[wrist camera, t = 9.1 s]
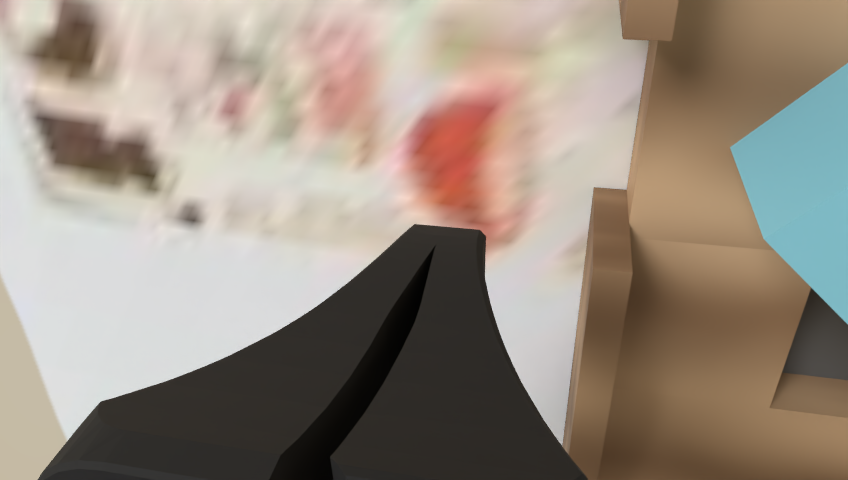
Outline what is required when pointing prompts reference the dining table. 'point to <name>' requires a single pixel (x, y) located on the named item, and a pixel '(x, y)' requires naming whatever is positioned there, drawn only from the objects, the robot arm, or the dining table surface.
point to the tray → (707, 266)
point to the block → (804, 186)
